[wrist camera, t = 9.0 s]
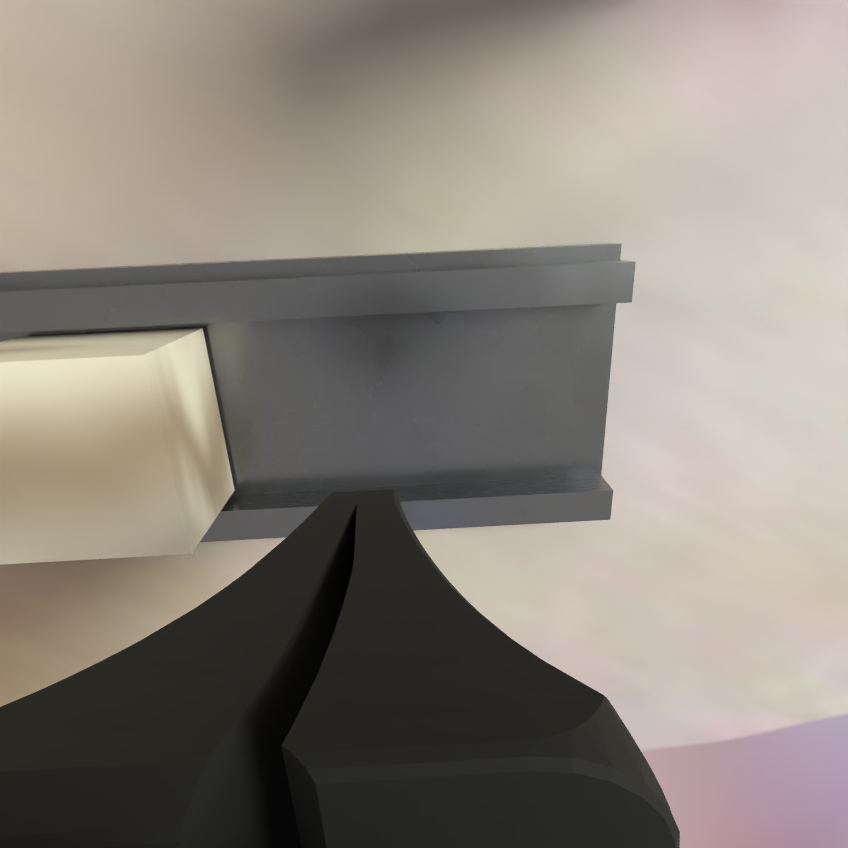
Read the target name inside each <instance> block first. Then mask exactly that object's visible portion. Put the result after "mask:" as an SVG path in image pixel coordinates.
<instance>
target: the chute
mask: <svg viewBox="0 0 848 848" xmlns="http://www.w3.org/2000/svg"><path fill="white" fill-rule="evenodd" d="M620 254H621V244H613V243H611V244H590V245H569V246H548V247H526V248H505V249H484V250H463V251H442V252H421V253H399V254H378V255H357V256H336V257H315V258H294V259H272V260H251V261H230V262H209V263H188V264H167V265H145V266H124V267H103V268H82V269H61V270H40V271H18V272H0V342H2V341H6V340H9V339H13V338H17V337H30V336H51V335H71V334H92V333H112V332H133V331H153V330H173V329H194V328H203V332H204V337H205V342H206V347H207V352H208V357H209V363H210V368H211V373H212V378H213V383H214V388H215V393H216V398H217V403H218V408H219V413H220V418H221V423H222V429H223V434H224V439H225V444H226V449H227V454H228V459H229V464H230V469H231V474H232V479H233V484H234V489H235V491H234V492H233V493H232V495H231V496H230V498H229V499H228V501H227V502H226V504H225V505H224V507H223V508H222V510H221V511H220V513H219V514H218V516H217V517H216V519H215V520H214V522H213V523H212V525H211V526H210V528H209V529H208V530H207V532H206V533H205V535H204V536H203V538H202V539H201V541H200V542H208V541H226V540H244V539H263V538H281V537H288V536H289V535H290V534H291V533H292V532H293V531H294V530H295V529H296V528H297V527H298V526H299V525H300V524H301V523H302V522H303V521H304V520H305V519H306V518H307V517H308V516H309V515H310V514H311V513H312V512H313V511H314V510H315V509H316V508H317V507H318V506H319V505H320V504H321V503H322V502H323V501H324V500H325V499H326V498H327V497H328V496H329V495H330V494H332V493H333V492H351V491H370V490H388V489H394V490H395V491H396V492H397V493H398V494H399V498H400V504H401V507H402V510H403V512H404V514H405V516H406V519H407V521H408V523H409V525H410V527H411V528H412V530H427V529H445V528H464V527H482V526H500V525H518V524H537V523H555V522H573V521H592V520H610V516H611V506H612V496H613V490H612V488H611V487H610V486H609V485H608V483H607V482H606V481H605V480H604V478H603V477H602V476H601V470H602V459H603V447H604V436H605V424H606V413H607V402H608V390H609V379H610V368H611V356H612V345H613V333H614V322H615V311H616V303H627V302H632V292H633V282H634V272H635V262H632V261H623V260H620Z"/></svg>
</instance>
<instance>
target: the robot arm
mask: <svg viewBox="0 0 848 848" xmlns="http://www.w3.org/2000/svg"><path fill="white" fill-rule="evenodd" d="M679 834H680V832H679V830H678V827H677V825H676V822H675V820H674V818H673V816H672V813H671V810H670V807H669V805H668V803H667V800H666V798H665V796H664V793H663V791H662V789H661V787H660V785H659V783H658V781H657V779H656V778H655V775H654V773H653V772H652V770H651V768H650V766H649V764H648V762H647V761H646V759H645V757H644V756H643V754H642V752H641V751H640V749H639V747H638V746H637V744H636V742H635V741H634V739H633V737H632V736H631V734H630V733H629V731H628V730H627V728H626V726H625V725H624V723H623V722H622V720H621V719H620V717H619V715H618V714H617V712H616V711H615V709H614V708H613V706H612V705H611V703H610V702H609V700H608V699H607V698H606V697H605V696H604V695H602V694H601V693H599V692H597V691H595V690H594V689H592V688H590V687H588V686H587V685H585V684H583V683H581V682H580V681H578V680H576V679H574V678H573V677H571V676H569V675H567V674H566V673H564V672H562V671H560V670H559V669H557V668H555V667H553V666H552V665H550V664H548V663H546V662H545V661H543V660H542V659H540V658H538V657H537V656H535V655H534V654H533V653H531V652H530V651H528V650H527V649H525V648H524V647H522V646H521V645H520V644H518V643H517V642H515V641H514V640H512V639H511V638H510V637H508V636H507V635H506V634H505V633H504V632H502V631H501V630H500V629H499V628H497V627H496V626H495V625H494V624H493V623H491V622H490V621H489V620H488V619H487V618H485V617H484V616H483V615H482V614H481V613H479V612H478V611H477V610H476V609H475V608H474V607H473V606H472V605H471V604H470V603H469V602H468V601H467V600H466V599H465V598H464V597H463V596H462V595H461V594H460V593H459V592H458V591H457V590H456V589H455V587H454V586H453V585H452V584H451V583H450V582H449V581H448V580H447V578H446V577H445V576H444V575H443V574H442V572H441V571H440V570H439V569H438V567H437V566H436V565H435V563H434V562H433V561H432V559H431V558H430V557H429V555H428V554H427V553H426V551H425V550H424V548H423V547H422V545H421V544H420V542H419V540H418V538H417V537H416V535H415V533H414V532H413V530H412V528H411V527H410V525H409V523H408V521H407V519H406V516H405V514H404V512H403V510H402V507H401V504H400V498H399V494H398V493H397V492H396V491H395V490H394V489H388V490H370V491H351V492H333V493H332V494H330V495H329V496H328V497H327V498H326V499H325V500H324V501H323V502H322V503H321V504H320V505H319V506H318V507H317V508H316V509H315V510H314V511H313V512H312V513H311V514H310V515H309V516H308V517H307V518H306V519H305V520H304V521H303V522H302V523H301V524H300V525H299V526H298V527H297V528H296V529H295V530H294V531H293V532H292V533H291V534H290V535H289V536H288V537H287V538H286V539H284V540H283V541H282V542H281V543H280V544H279V545H278V546H276V547H275V548H274V549H273V550H272V551H271V552H269V553H268V554H267V555H266V556H265V557H264V558H262V559H261V560H260V561H259V562H258V563H257V564H255V565H254V566H253V567H252V568H251V569H249V570H248V571H247V572H246V573H244V574H243V575H242V576H240V577H239V578H238V579H236V580H235V581H234V582H232V583H231V584H230V585H228V586H227V587H226V588H224V589H223V590H221V591H220V592H218V593H217V594H215V595H214V596H213V597H211V598H210V599H208V600H207V601H205V602H204V603H202V604H201V605H199V606H198V607H196V608H195V609H193V610H192V611H190V612H188V613H186V614H185V615H183V616H181V617H180V618H178V619H176V620H175V621H173V622H171V623H170V624H168V625H166V626H165V627H163V628H161V629H159V630H158V631H156V632H154V633H153V634H151V635H149V636H148V637H146V638H144V639H143V640H141V641H139V642H137V643H135V644H134V645H132V646H130V647H128V648H126V649H124V650H122V651H120V652H118V653H116V654H114V655H112V656H111V657H109V658H107V659H105V660H103V661H101V662H99V663H97V664H95V665H93V666H91V667H89V668H86V669H84V670H82V671H80V672H78V673H76V674H74V675H72V676H70V677H68V678H66V679H64V680H62V681H59V682H57V683H55V684H53V685H51V686H48V687H46V688H44V689H42V690H40V691H37V692H35V693H33V694H30V695H28V696H26V697H23V698H21V699H18V700H16V701H14V702H11V703H9V704H6V705H4V706H2V707H0V848H679V837H680V835H679Z"/></svg>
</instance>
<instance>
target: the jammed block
mask: <svg viewBox="0 0 848 848" xmlns="http://www.w3.org/2000/svg"><path fill="white" fill-rule="evenodd" d="M234 491H235V489H234V484H233V479H232V474H231V469H230V464H229V459H228V454H227V449H226V444H225V439H224V434H223V429H222V423H221V418H220V413H219V408H218V403H217V398H216V393H215V388H214V383H213V378H212V373H211V368H210V363H209V357H208V352H207V347H206V342H205V337H204V332H203V328H194V329H173V330H153V331H133V332H112V333H92V334H71V335H51V336H30V337H17V338H13V339H9V340H6V341H2V342H0V565H2V564H20V563H38V562H56V561H74V560H92V559H110V558H129V557H147V556H165V555H183V554H192V553H193V551H194V550H195V548H196V547H197V545H198V544H199V542H200V541H201V539H202V538H203V536H204V535H205V533H206V532H207V530H208V529H209V528H210V526H211V525H212V523H213V522H214V520H215V519H216V517H217V516H218V514H219V513H220V511H221V510H222V508H223V507H224V505H225V504H226V502H227V501H228V499H229V498H230V496H231V495H232V493H233V492H234Z"/></svg>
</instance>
